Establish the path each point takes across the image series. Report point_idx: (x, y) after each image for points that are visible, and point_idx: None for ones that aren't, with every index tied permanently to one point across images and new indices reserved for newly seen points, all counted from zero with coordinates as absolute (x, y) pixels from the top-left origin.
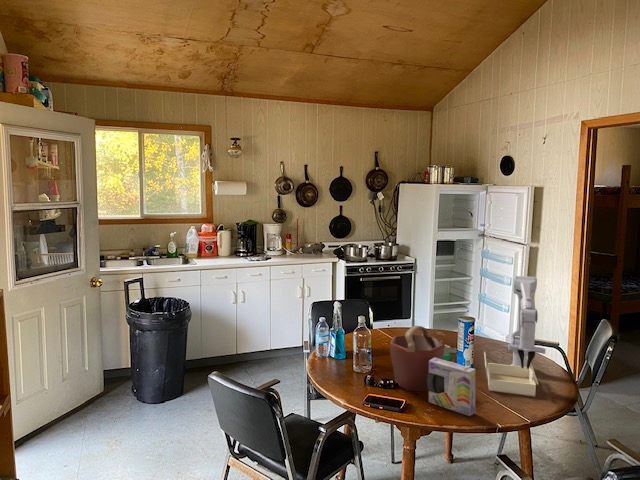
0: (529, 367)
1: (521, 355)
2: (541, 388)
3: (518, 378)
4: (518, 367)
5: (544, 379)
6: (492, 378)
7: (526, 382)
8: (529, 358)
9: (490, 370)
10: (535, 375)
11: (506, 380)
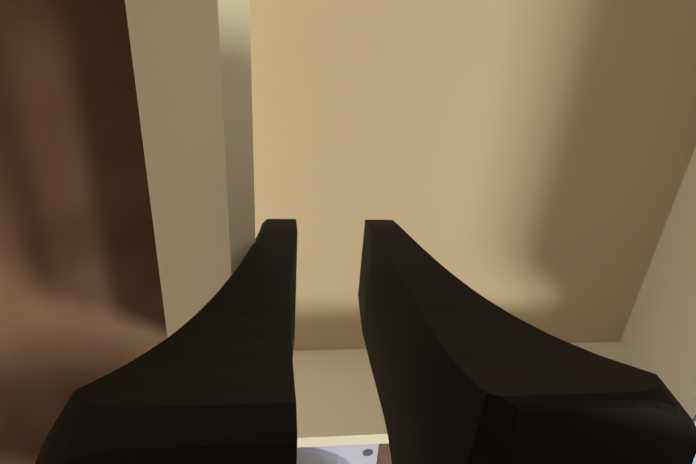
0: None
1: (552, 370)
2: (98, 117)
3: (347, 297)
4: (354, 425)
5: (74, 369)
6: (633, 216)
7: (272, 216)
8: (266, 338)
9: (617, 360)
10: (148, 142)
11: (492, 207)
